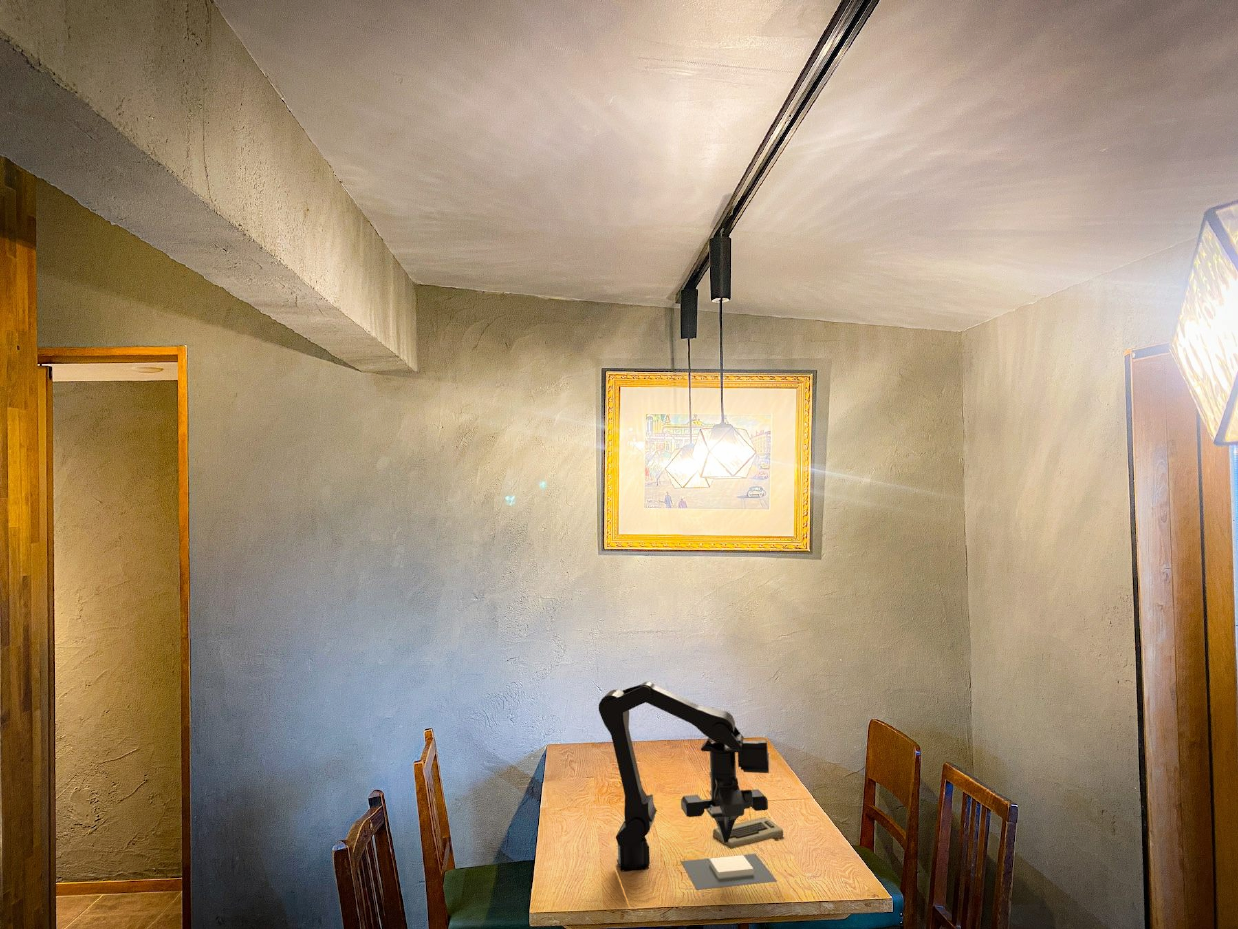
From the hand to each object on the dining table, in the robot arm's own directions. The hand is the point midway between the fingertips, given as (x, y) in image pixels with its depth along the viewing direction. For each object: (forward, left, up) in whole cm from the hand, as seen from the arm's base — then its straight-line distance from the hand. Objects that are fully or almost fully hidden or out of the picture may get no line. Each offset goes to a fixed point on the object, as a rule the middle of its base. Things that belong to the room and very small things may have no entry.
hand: (725, 842), depth 174 cm
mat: (0, 0, -7) cm, 7 cm away
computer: (+11, +17, -8) cm, 22 cm away
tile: (-3, 0, -6) cm, 6 cm away
